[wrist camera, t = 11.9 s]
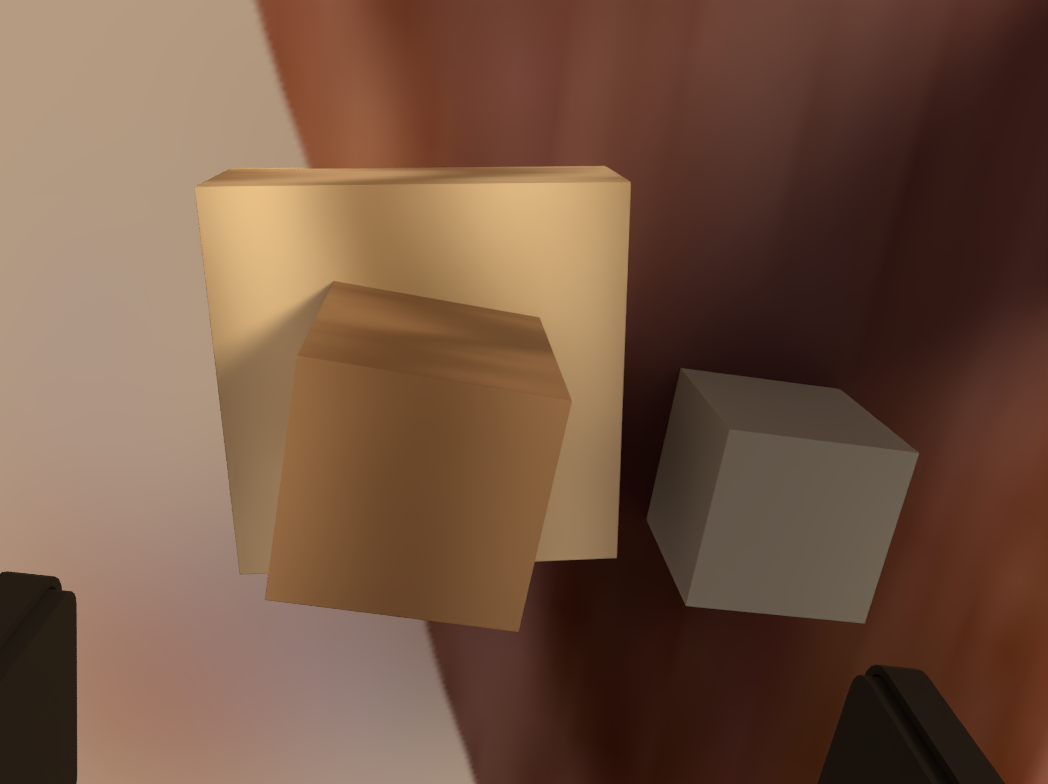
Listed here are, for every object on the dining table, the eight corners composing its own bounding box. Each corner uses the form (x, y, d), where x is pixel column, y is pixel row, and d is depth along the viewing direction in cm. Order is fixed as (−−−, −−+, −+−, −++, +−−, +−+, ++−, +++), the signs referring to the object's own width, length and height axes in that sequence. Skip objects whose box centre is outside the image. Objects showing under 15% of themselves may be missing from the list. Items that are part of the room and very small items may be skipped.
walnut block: (539, 317, 23) (572, 401, 17) (500, 499, 24) (518, 632, 19) (333, 280, 22) (296, 355, 16) (307, 471, 24) (265, 600, 18)
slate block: (839, 388, 28) (919, 453, 23) (797, 534, 30) (864, 623, 25) (679, 366, 27) (729, 429, 23) (645, 518, 29) (685, 605, 24)
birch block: (602, 164, 26) (630, 182, 22) (593, 493, 29) (616, 558, 25) (231, 168, 25) (194, 186, 21) (266, 506, 28) (239, 574, 24)
